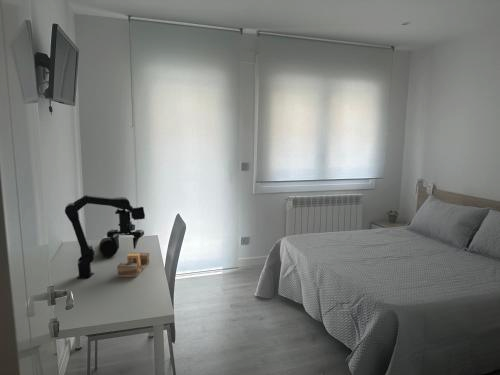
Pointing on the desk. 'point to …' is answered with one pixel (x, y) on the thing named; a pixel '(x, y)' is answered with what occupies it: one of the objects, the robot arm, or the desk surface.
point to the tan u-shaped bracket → (134, 257)
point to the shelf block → (133, 266)
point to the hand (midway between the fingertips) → (126, 248)
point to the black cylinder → (107, 247)
